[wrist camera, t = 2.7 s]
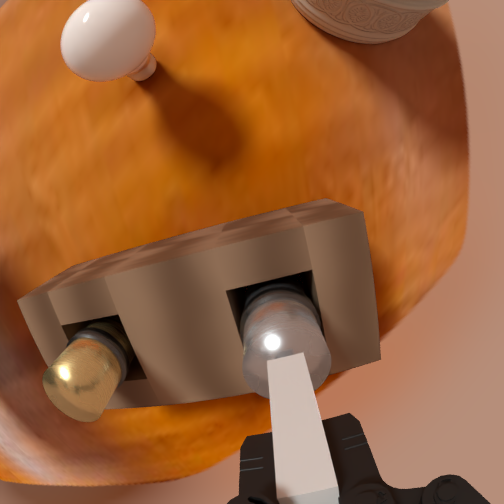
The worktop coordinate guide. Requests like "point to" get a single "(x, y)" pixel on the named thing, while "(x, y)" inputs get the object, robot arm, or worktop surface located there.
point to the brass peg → (90, 369)
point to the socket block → (214, 299)
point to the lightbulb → (110, 40)
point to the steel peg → (281, 332)
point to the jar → (366, 17)
